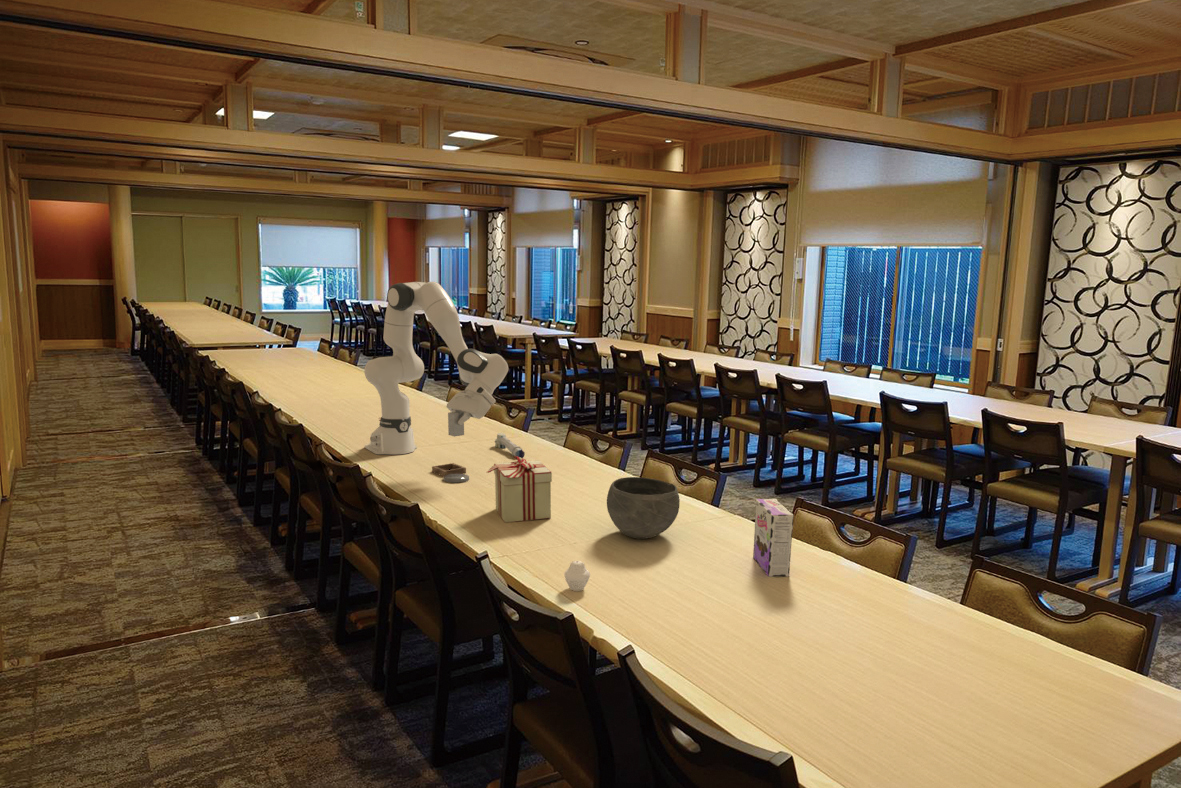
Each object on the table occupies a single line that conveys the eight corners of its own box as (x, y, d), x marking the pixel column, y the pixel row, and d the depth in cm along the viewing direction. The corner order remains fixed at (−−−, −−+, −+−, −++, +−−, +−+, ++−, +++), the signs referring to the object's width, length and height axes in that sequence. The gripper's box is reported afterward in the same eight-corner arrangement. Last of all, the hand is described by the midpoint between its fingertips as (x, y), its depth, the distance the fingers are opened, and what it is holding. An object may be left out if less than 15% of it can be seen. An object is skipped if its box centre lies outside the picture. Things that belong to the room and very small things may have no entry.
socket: (432, 471, 296) (432, 466, 296) (453, 468, 302) (453, 463, 301) (444, 476, 289) (444, 471, 289) (466, 473, 295) (466, 467, 295)
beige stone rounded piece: (559, 591, 189) (560, 563, 188) (569, 582, 195) (570, 554, 194) (584, 595, 187) (584, 567, 186) (593, 586, 193) (594, 558, 192)
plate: (438, 479, 286) (438, 476, 285) (459, 475, 292) (459, 472, 292) (453, 484, 279) (453, 481, 279) (474, 480, 286) (474, 477, 286)
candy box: (752, 557, 214) (755, 498, 212) (773, 557, 215) (777, 498, 212) (767, 577, 201) (771, 514, 198) (790, 577, 201) (794, 513, 199)
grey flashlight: (514, 450, 317) (493, 429, 338) (513, 465, 319) (492, 444, 340) (526, 449, 319) (505, 428, 341) (525, 464, 321) (504, 443, 343)
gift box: (482, 510, 251) (482, 456, 248) (537, 504, 258) (538, 452, 256) (498, 526, 236) (498, 469, 233) (556, 520, 243) (557, 464, 240)
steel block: (448, 434, 285) (448, 412, 284) (458, 433, 287) (457, 411, 286) (454, 436, 282) (453, 414, 281) (464, 435, 284) (463, 412, 283)
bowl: (657, 553, 216) (659, 499, 214) (591, 537, 227) (592, 486, 225) (690, 532, 234) (692, 482, 231) (627, 519, 245) (629, 471, 242)
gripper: (456, 384, 294) (433, 413, 290) (487, 390, 279) (464, 421, 274) (467, 395, 298) (445, 424, 293) (498, 402, 283) (475, 432, 278)
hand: (454, 423), depth 284 cm, fingers closed on steel block, 4 cm apart
